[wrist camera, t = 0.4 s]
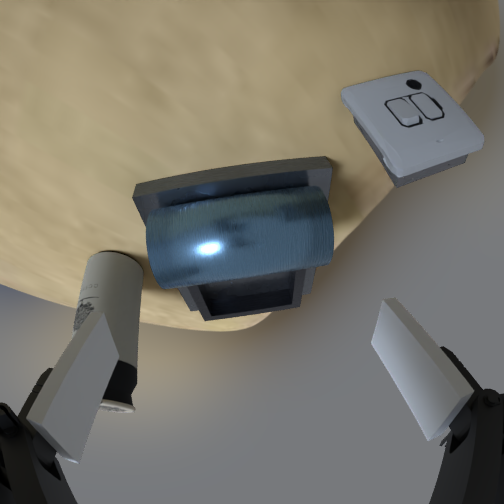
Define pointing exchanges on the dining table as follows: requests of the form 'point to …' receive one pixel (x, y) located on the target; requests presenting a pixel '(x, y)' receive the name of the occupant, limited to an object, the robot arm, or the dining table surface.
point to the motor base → (232, 188)
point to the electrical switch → (412, 125)
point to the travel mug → (115, 319)
